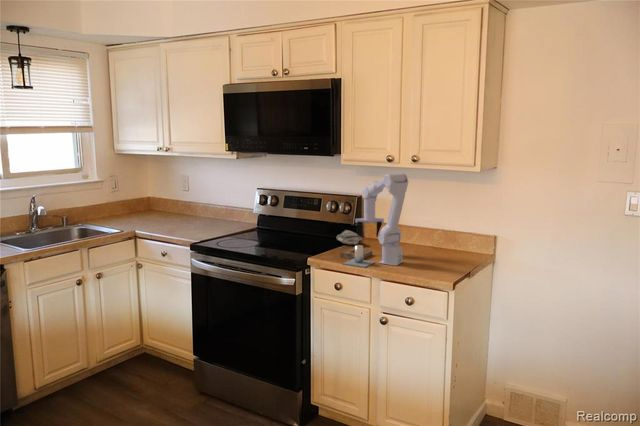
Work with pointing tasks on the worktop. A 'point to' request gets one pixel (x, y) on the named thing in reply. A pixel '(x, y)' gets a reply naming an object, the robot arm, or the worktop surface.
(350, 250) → the bore block
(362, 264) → the mat
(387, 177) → the robot arm
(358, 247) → the plug
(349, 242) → the rock
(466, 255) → the worktop surface
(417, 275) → the worktop surface
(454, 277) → the worktop surface
